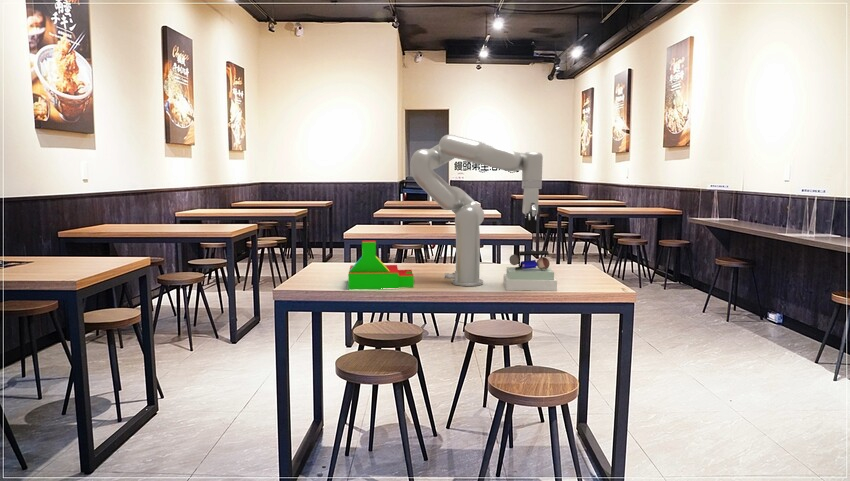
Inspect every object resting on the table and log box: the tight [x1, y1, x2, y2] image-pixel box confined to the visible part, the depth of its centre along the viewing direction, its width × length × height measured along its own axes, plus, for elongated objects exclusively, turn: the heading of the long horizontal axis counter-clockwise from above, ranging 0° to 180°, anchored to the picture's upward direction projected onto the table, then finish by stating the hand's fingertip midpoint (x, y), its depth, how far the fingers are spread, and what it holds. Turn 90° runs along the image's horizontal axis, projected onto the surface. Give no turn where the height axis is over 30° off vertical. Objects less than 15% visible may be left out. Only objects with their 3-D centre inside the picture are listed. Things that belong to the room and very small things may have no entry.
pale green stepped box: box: [503, 266, 558, 292], centre depth 227 cm, size 19×13×7 cm
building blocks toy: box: [348, 240, 415, 290], centre depth 231 cm, size 19×25×18 cm
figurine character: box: [509, 250, 550, 270], centre depth 226 cm, size 7×8×15 cm
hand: (530, 229), depth 225 cm, fingers open, 9 cm apart
